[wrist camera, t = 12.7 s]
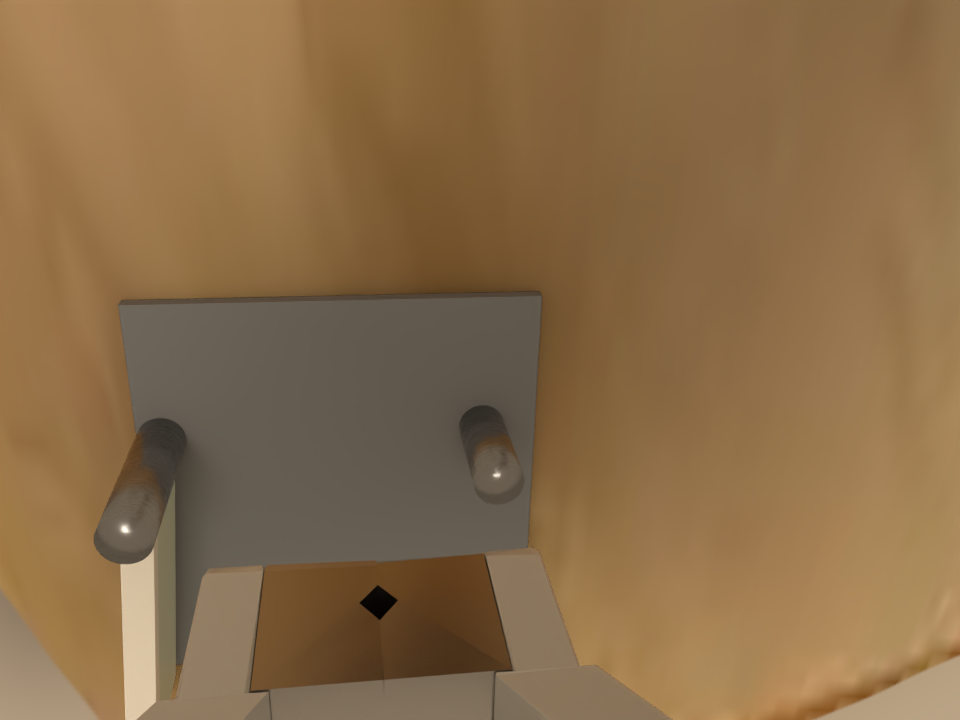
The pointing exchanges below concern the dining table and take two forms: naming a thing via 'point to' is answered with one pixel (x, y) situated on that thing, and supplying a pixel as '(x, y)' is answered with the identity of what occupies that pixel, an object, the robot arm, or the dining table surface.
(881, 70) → the dining table surface
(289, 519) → the yard mat
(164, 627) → the cream plank
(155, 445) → the posts
